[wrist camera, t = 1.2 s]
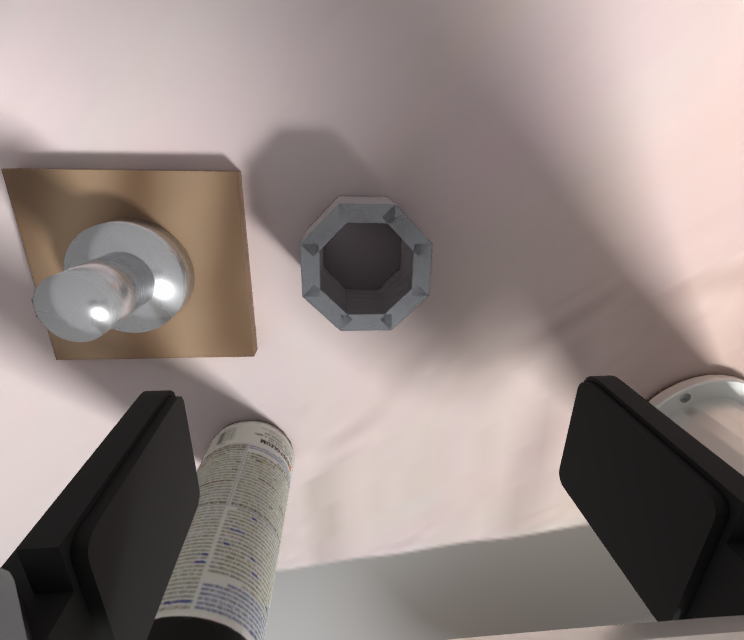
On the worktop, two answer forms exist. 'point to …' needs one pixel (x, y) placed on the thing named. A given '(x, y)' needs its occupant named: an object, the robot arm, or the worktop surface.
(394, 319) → the octagonal pot
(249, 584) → the spray can
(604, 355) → the worktop surface
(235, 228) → the base plate
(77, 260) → the grey rounded fixture
